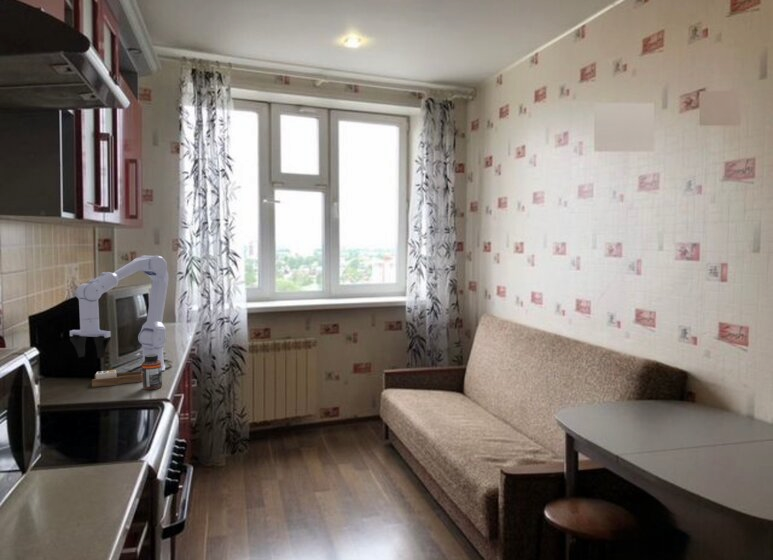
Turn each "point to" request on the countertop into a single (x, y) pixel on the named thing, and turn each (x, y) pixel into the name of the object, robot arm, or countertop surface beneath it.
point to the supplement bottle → (151, 372)
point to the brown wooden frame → (119, 379)
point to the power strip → (106, 374)
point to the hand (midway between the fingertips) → (91, 357)
